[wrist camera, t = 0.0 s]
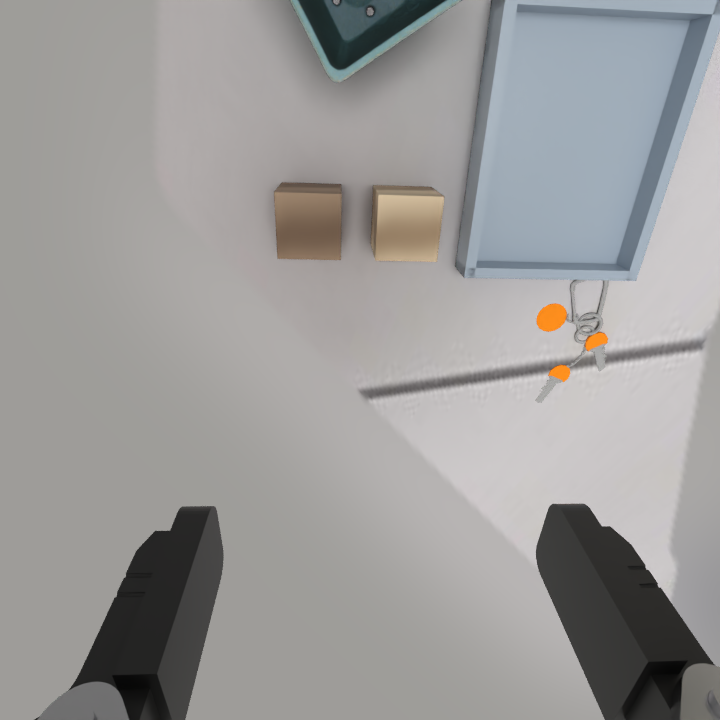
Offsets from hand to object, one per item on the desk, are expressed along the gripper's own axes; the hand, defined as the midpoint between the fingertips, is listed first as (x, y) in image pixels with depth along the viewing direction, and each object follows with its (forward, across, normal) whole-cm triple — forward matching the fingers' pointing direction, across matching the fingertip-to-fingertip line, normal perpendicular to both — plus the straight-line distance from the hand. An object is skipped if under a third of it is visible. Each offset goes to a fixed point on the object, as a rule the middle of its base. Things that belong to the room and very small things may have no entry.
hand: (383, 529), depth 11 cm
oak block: (+29, -4, -2) cm, 30 cm away
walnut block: (+29, +3, -2) cm, 30 cm away
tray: (+29, -16, -7) cm, 34 cm away
